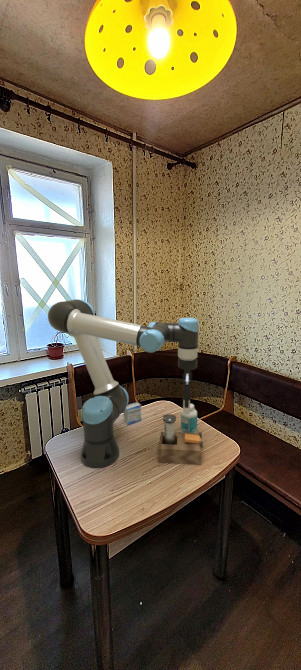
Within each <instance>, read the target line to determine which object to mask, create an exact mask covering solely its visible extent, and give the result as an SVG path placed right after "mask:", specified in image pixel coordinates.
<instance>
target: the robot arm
mask: <svg viewBox="0 0 301 670" xmlns="http://www.w3.org/2000/svg"><path fill="white" fill-rule="evenodd" d="M47 320H48V322H49V324H50V327H52V328H53V329H54V330H55V331H58V332H61V333H64V334H68V335H69V336H71V337H72V338H74V340H75V343H76V346H77V348H78V350H79V352H80V355H81V357H82V360H83V361H84V364H85V367H86V369H87V372H88V374H89V376H90V379H91V382H92V384H93V386H94V391H93V395H94V397H91V398H89V399H88V400H87V399H86V401H85V402H84V403H83V405H82V408H81V410H82V412H81V418H82V426H83V437H84V440H83V445H82V448H81V451H80V453H81V454H80V456H81V457H80V458H81V459H82V460H81V462H82V461H83V462H82V464H83V463H84V464H83V465H85V466H86V465H87V466H86V467H88V466H90V467H89V468H92V467H94V469H100V467H101V468H105V467H108V466H110V465H112V464H113V463H114V462H116V461H117V460H118V458H119V456H120V448H119V444H118V443H117V440H116V438H115V431H114V430H115V429H114V423H115V422H116V421H117V419H118V418H119V417H120V416H121V414H123V411H124V410H125V409H126V407H127V405H129V401H130V400H129V399H130V397H129V393H128V392H127V390H126V389H125V388H124V387H122V386H121V385H120V384H119V382H118V381H116V380H114V378H113V375H112V373H111V370H110V368H109V365H108V363H107V361H106V358H105V356H104V353H103V351H102V349H101V346H100V343H99V341H98V339H99V338H100V339H104V340H108V341H113V342H117V343H122V344H126V345H129V346H130V345H131V346H135V347H140V348H141V349H142V350H143V351H145V353H150V354H151V353H155V352H157V351H159V350H161V349H162V348H163V346H164V345H165V344H166V343H177V344H178V345H177V346H178V347H177V357H178V358H177V367H178V368H179V369H181V370H182V373H181V375H182V376H181V377H182V384H183V397H181V400H182V403H183V404H182V409H183V414H189V415H190V404H191V398H192V397H193V396H192V395H191V385H192V380H193V370H195V369H197V368H198V359H197V358H198V353H199V352H200V349H198V347H199V320H198V319H197V318H195V317H181V318H179V319H178V322H176V323H175V322H174V323H173V322H160V321H156V322H154V321H153V322H152V321H151V322H149V323H148V326H146V325H141V324H136V323H131V322H127V321H123V320H119V319H118V320H117V319H114V318H113V319H112V318H108V317H103V316H98V315H95V310H94V307H93V306H92V305H91V303H89V302H88V301H86V300H85V299H72V300H71V299H70V300H65V301H58V302H55V303H54V304H53V305H52V306H51V307H49V310H48V313H47Z"/></svg>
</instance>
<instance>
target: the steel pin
mask: <svg viewBox="0 0 301 670" xmlns="http://www.w3.org/2000/svg"><path fill="white" fill-rule="evenodd" d="M162 420H163V422H164V432H165V444H169V445H175V432H176V431H175V423H176V421H177V416H176V415H174V414H171V413H169V414H164V415H163V416H162Z"/></svg>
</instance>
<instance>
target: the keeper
mask: <svg viewBox="0 0 301 670" xmlns="http://www.w3.org/2000/svg"><path fill="white" fill-rule="evenodd" d="M200 441H201V438H200V435H193V434H186V433H185V442H190V443H197V444H200Z"/></svg>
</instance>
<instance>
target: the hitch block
mask: <svg viewBox="0 0 301 670" xmlns="http://www.w3.org/2000/svg"><path fill="white" fill-rule="evenodd" d="M186 434H193V435H200V439H202V438H203V432H197V433H186ZM203 447H204V442H203V440H202V441H201V440H200V444H197V443H190V442H185V433H183V432H181V431H180V432H178V431H177V432H176V431H175V445H169V444H165V431H162V430H161V431H160V436H159V443H158V463H163V464H177V465H179V464H181V465H193V466H194V465H195V466H197V465H198V466H201V465H202V464H201V463H202V461H201V458H202V454H201V453H202V450H201V449H202V448H203Z"/></svg>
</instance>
